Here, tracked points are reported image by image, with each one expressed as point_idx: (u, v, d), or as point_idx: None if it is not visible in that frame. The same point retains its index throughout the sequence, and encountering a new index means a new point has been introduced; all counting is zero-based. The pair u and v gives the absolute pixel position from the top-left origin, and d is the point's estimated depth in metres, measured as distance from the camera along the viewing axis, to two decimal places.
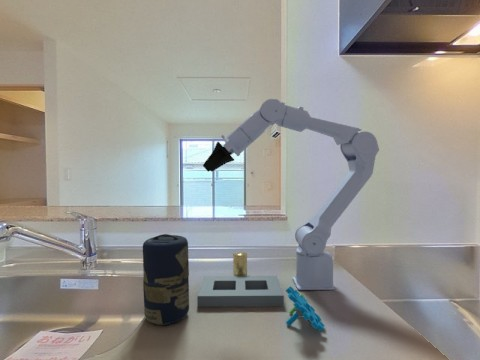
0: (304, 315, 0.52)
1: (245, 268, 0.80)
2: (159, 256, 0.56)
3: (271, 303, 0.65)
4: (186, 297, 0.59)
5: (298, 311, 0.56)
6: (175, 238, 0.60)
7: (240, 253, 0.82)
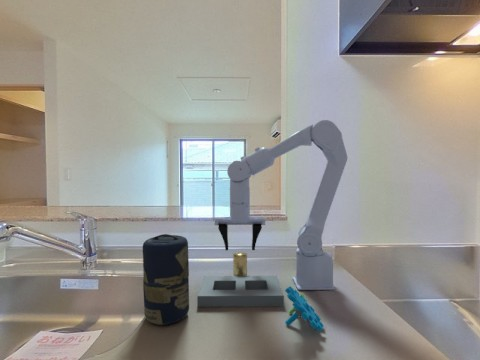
0: (303, 315, 0.52)
1: (245, 268, 0.80)
2: (159, 256, 0.56)
3: (271, 303, 0.65)
4: (186, 297, 0.59)
5: (297, 311, 0.56)
6: (175, 238, 0.60)
7: (240, 253, 0.82)
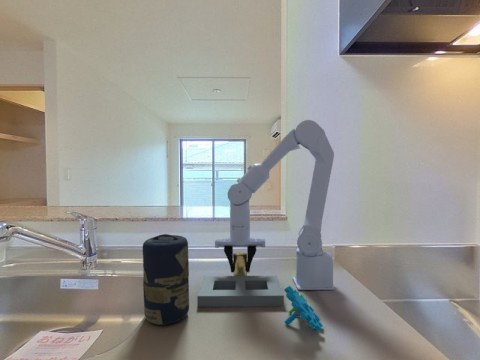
0: (301, 315, 0.52)
1: (245, 268, 0.80)
2: (159, 256, 0.56)
3: (271, 303, 0.65)
4: (186, 297, 0.59)
5: (296, 311, 0.56)
6: (175, 238, 0.60)
7: (240, 253, 0.82)
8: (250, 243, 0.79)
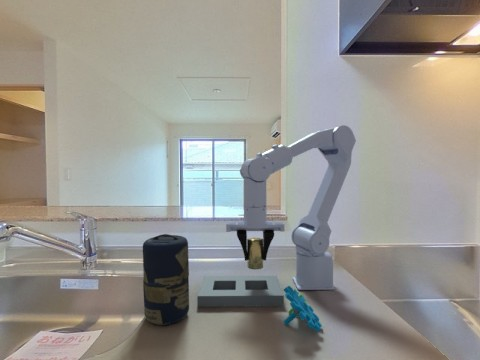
0: (300, 314, 0.52)
1: (261, 255, 0.70)
2: (159, 256, 0.56)
3: (271, 303, 0.65)
4: (186, 297, 0.59)
5: (295, 310, 0.56)
6: (175, 238, 0.60)
7: (255, 238, 0.72)
8: (267, 226, 0.68)
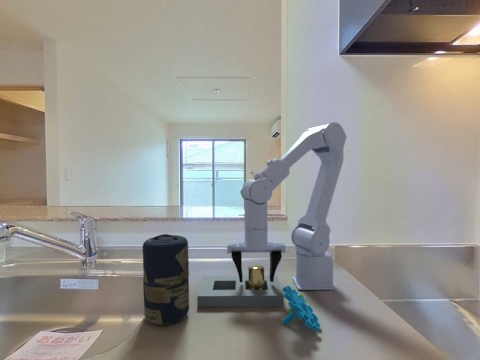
0: (298, 314, 0.52)
1: (262, 284, 0.70)
2: (159, 256, 0.56)
3: (271, 303, 0.65)
4: (186, 297, 0.59)
5: (294, 310, 0.57)
6: (175, 238, 0.60)
7: (256, 266, 0.71)
8: (268, 248, 0.68)
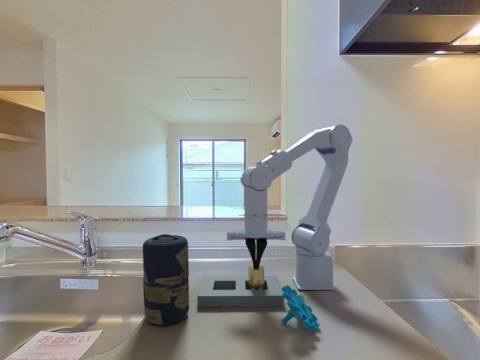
0: (296, 314, 0.53)
1: (262, 284, 0.70)
2: (159, 256, 0.56)
3: (271, 303, 0.65)
4: (186, 297, 0.59)
5: (293, 310, 0.57)
6: (175, 238, 0.60)
7: None
8: (268, 235, 0.68)
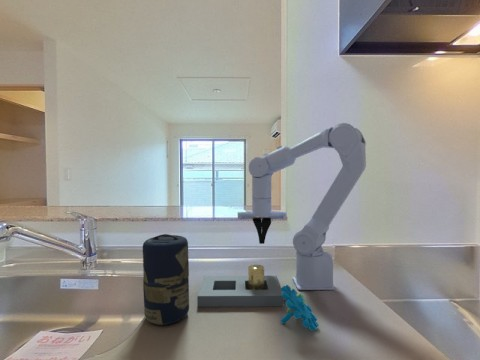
0: (295, 314, 0.53)
1: (262, 284, 0.70)
2: (159, 256, 0.56)
3: (271, 303, 0.65)
4: (186, 297, 0.59)
5: (292, 310, 0.57)
6: (175, 238, 0.60)
7: (256, 266, 0.71)
8: (272, 215, 0.82)
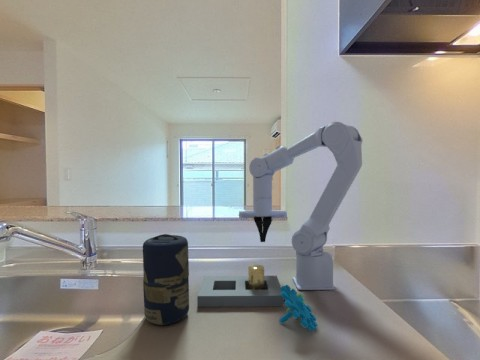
0: (293, 313, 0.53)
1: (262, 284, 0.70)
2: (159, 256, 0.56)
3: (271, 303, 0.65)
4: (186, 297, 0.59)
5: (291, 309, 0.57)
6: (175, 238, 0.60)
7: (256, 266, 0.71)
8: (273, 214, 0.84)
